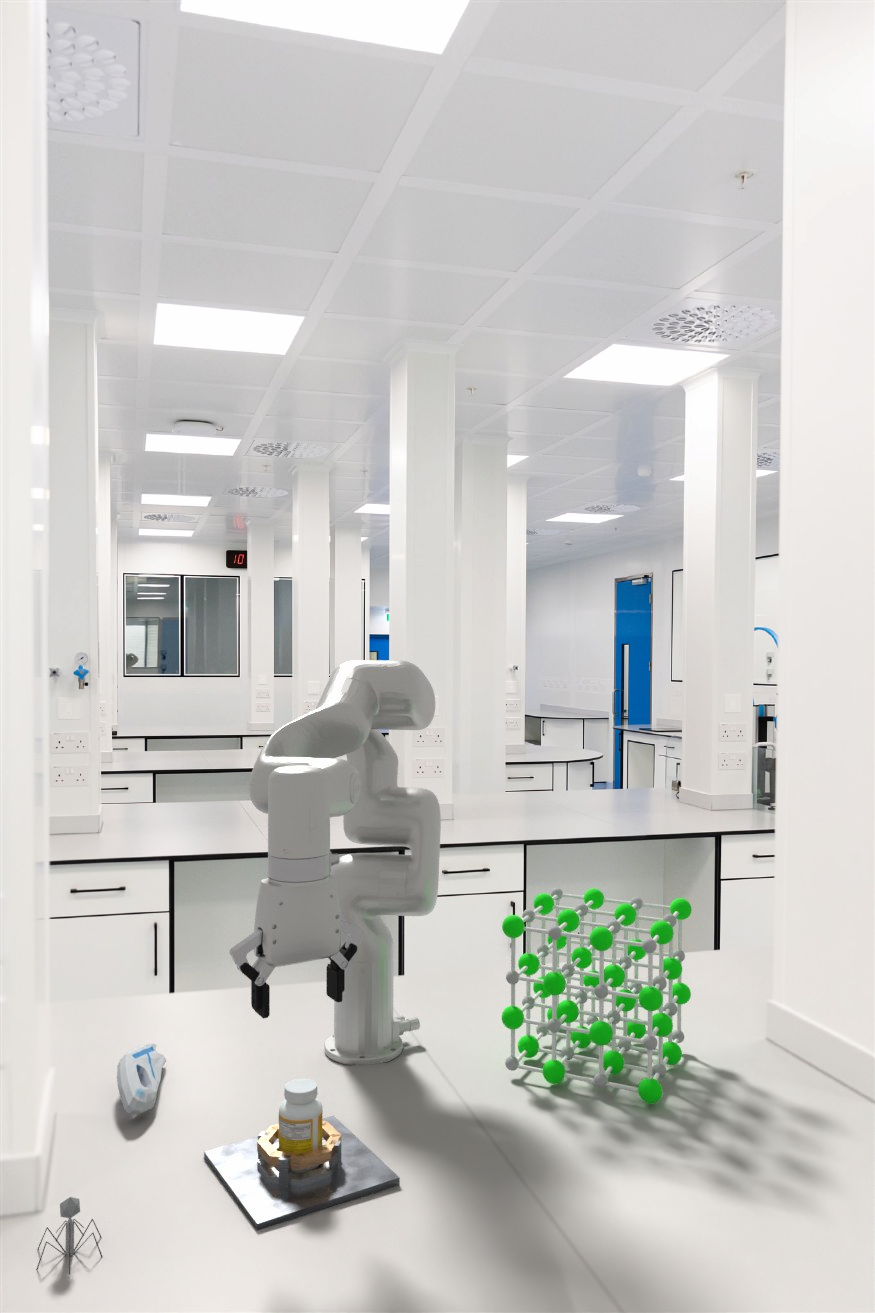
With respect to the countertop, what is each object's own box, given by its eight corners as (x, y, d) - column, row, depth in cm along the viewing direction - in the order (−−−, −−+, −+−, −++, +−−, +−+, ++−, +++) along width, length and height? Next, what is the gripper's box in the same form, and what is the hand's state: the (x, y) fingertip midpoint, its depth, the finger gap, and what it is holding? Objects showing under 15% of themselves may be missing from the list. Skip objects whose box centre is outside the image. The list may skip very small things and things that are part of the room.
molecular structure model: (692, 1044, 159) (693, 896, 159) (659, 1110, 136) (660, 938, 136) (550, 1019, 169) (551, 880, 169) (497, 1077, 147) (498, 916, 146)
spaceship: (118, 1080, 129) (96, 1108, 129) (158, 1109, 130) (136, 1137, 130) (137, 1024, 152) (118, 1048, 152) (171, 1049, 153) (152, 1073, 152)
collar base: (333, 1123, 132) (333, 1092, 132) (399, 1185, 117) (399, 1151, 117) (204, 1159, 123) (204, 1126, 123) (257, 1233, 107) (257, 1195, 107)
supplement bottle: (298, 1180, 116) (298, 1100, 116) (269, 1164, 120) (269, 1086, 119) (331, 1161, 120) (331, 1084, 120) (302, 1147, 124) (302, 1071, 124)
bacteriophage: (32, 1291, 98) (32, 1224, 98) (35, 1245, 105) (35, 1183, 105) (105, 1276, 100) (106, 1211, 100) (103, 1232, 108) (103, 1171, 108)
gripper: (348, 854, 127) (348, 984, 128) (220, 870, 118) (220, 1010, 118) (375, 865, 121) (375, 1002, 121) (242, 883, 112) (242, 1032, 112)
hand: (298, 1006), depth 120 cm, fingers open, 9 cm apart
